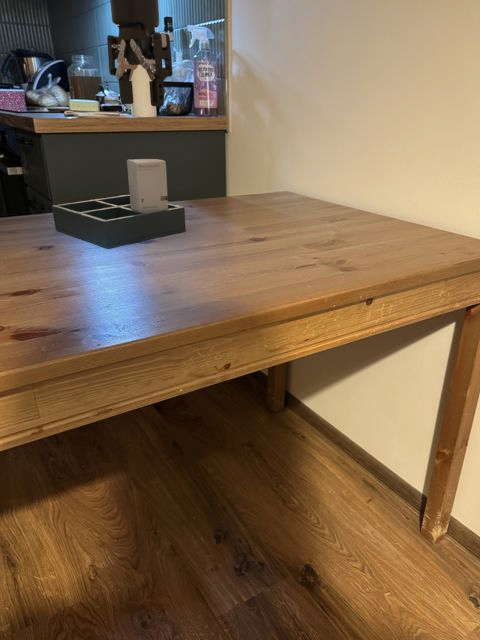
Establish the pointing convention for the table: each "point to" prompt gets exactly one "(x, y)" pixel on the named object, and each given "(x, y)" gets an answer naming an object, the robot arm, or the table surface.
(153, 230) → the grid
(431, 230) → the table surface
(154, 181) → the cosmetic box
